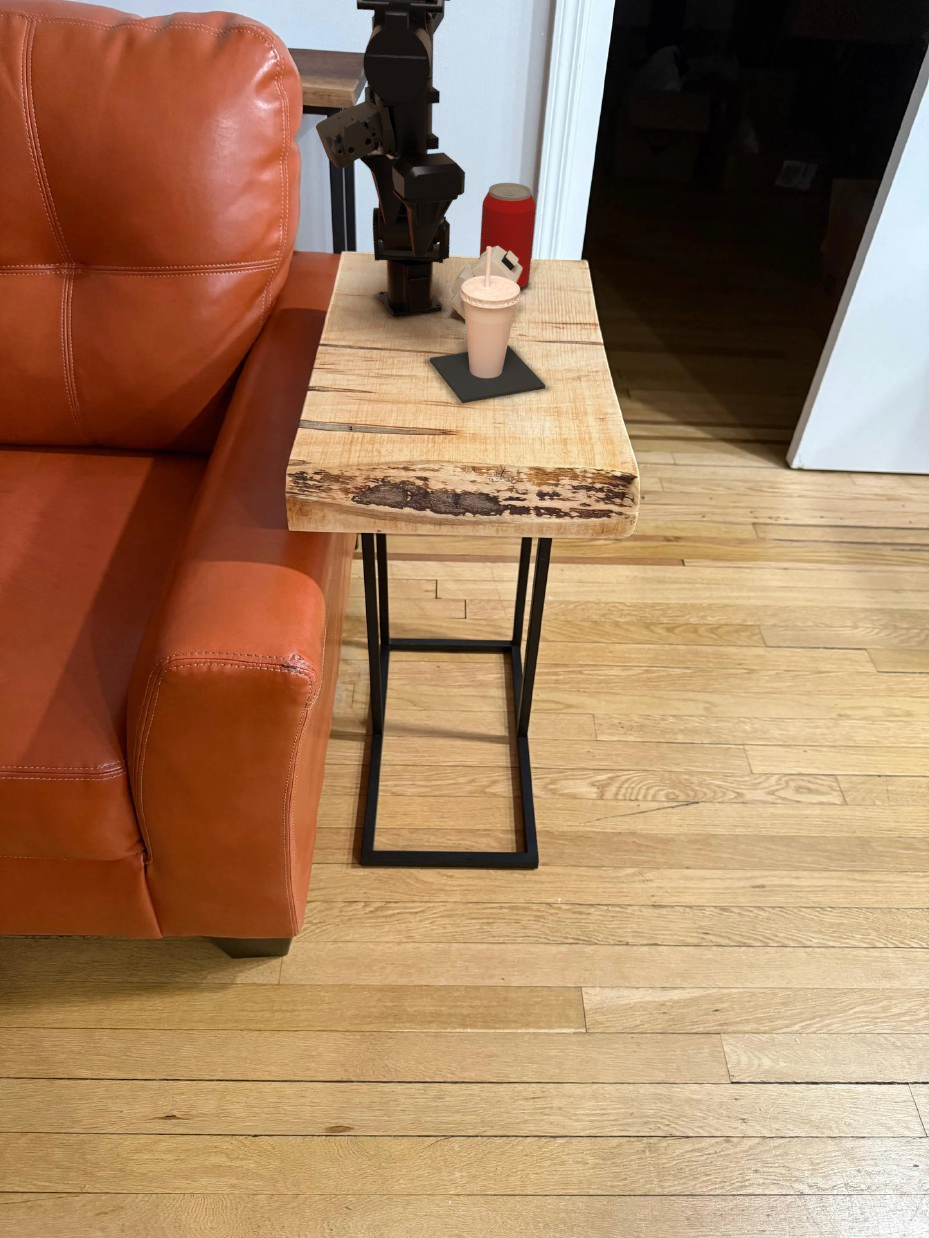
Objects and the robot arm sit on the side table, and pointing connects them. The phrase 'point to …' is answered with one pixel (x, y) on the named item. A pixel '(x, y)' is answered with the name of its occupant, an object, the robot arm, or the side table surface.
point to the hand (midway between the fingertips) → (404, 239)
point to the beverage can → (509, 223)
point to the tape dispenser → (500, 266)
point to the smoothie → (488, 319)
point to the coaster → (475, 388)
